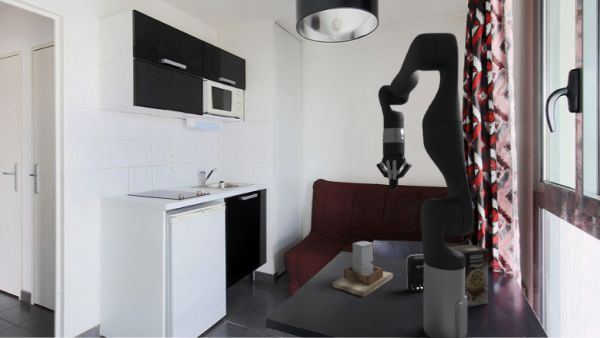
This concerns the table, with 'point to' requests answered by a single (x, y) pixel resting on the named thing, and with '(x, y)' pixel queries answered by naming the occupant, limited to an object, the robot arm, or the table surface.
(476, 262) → the coffee box
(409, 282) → the battery charger
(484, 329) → the table surface
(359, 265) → the skincare box
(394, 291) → the table surface
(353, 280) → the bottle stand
